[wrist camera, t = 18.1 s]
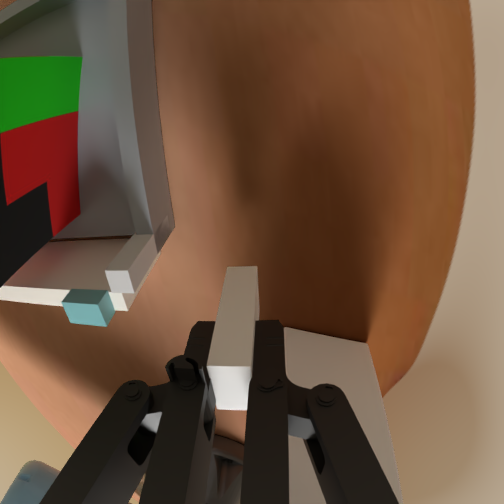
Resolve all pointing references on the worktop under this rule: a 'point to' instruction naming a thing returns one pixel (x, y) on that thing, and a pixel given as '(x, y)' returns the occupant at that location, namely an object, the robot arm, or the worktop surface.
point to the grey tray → (107, 120)
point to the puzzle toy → (37, 154)
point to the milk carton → (357, 392)
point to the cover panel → (72, 280)
